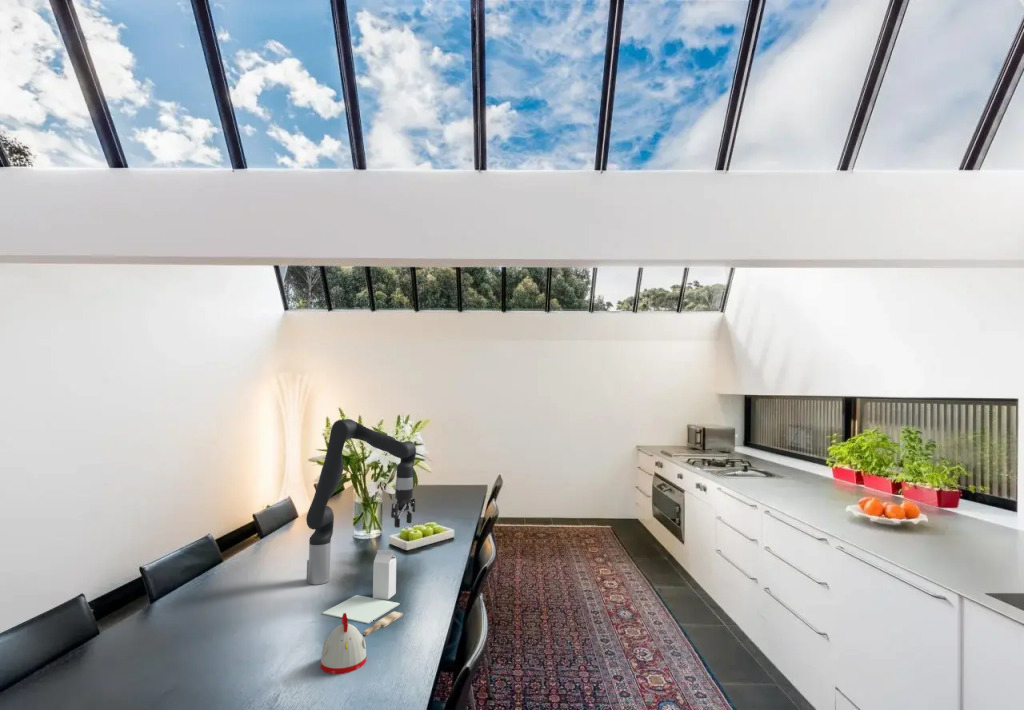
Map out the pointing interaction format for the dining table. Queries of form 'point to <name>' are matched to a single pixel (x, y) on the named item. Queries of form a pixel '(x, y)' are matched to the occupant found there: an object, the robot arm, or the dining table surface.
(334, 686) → the dining table surface
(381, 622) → the beech turner
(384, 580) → the milk carton
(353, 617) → the mat
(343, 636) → the kitchen timer
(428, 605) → the dining table surface
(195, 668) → the dining table surface
